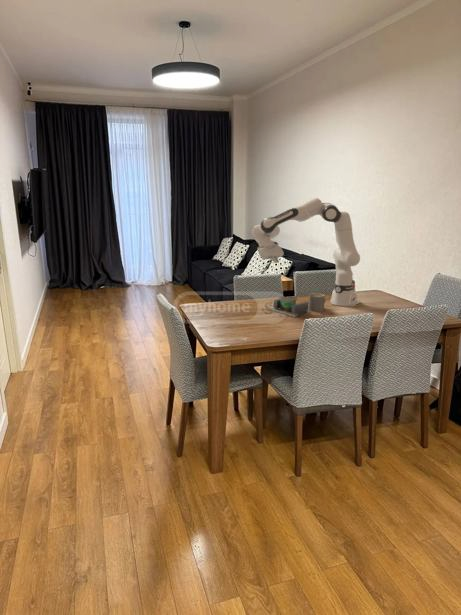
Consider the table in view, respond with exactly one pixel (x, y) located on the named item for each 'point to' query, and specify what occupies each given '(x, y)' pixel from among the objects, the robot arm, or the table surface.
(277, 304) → the vise free jaw
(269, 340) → the table surface
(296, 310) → the vise
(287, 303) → the food container
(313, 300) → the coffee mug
